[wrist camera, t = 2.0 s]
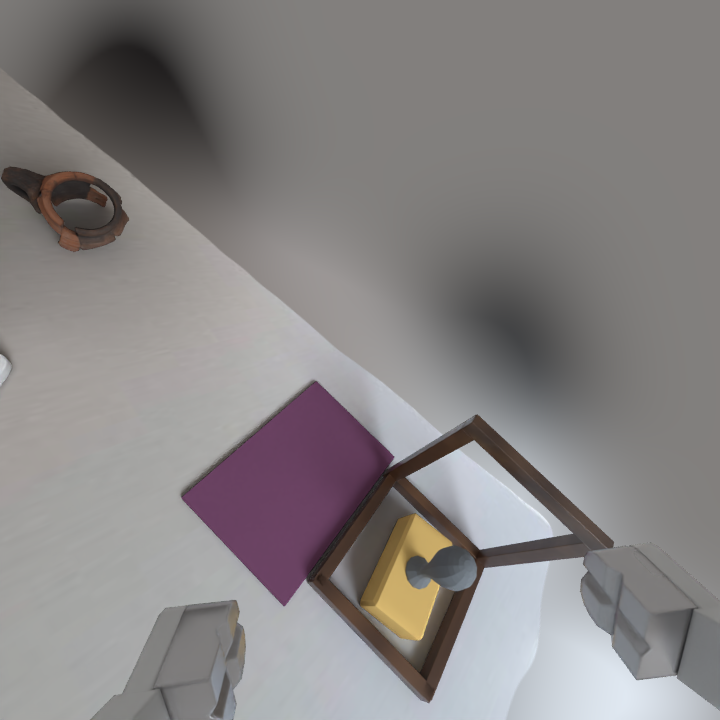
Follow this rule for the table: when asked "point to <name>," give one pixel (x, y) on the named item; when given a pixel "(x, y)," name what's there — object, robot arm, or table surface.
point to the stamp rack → (520, 553)
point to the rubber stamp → (415, 576)
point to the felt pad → (291, 489)
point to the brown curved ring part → (59, 190)
